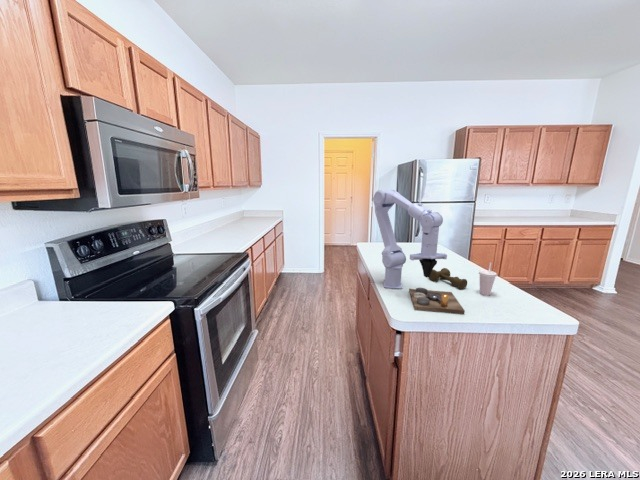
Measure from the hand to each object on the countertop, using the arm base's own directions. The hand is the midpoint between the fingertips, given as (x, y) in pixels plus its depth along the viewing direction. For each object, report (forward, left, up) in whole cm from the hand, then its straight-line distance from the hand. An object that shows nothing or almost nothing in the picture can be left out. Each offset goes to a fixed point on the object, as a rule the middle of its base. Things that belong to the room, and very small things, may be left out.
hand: (426, 276), depth 105 cm
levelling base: (+3, +3, -9) cm, 10 cm away
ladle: (+5, +4, -8) cm, 10 cm away
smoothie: (-10, +26, -10) cm, 29 cm away
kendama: (-22, +13, -10) cm, 27 cm away
